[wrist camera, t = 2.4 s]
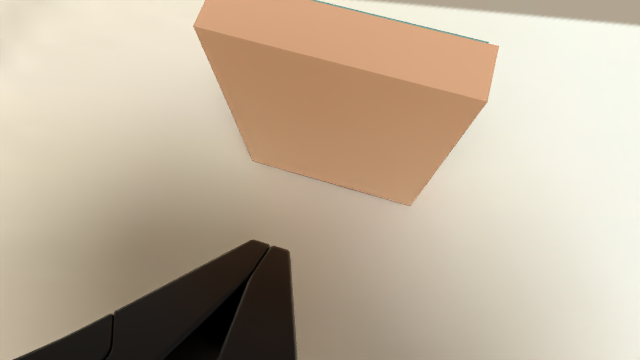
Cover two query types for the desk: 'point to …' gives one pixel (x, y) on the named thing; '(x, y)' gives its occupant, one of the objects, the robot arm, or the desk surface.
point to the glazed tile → (345, 90)
